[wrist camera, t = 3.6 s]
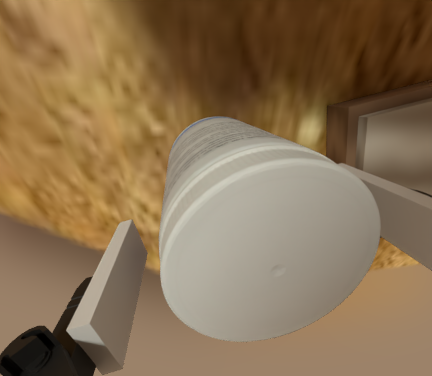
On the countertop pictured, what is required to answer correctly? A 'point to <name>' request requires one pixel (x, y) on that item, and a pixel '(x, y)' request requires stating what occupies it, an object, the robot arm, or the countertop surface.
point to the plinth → (386, 135)
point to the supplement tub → (259, 232)
